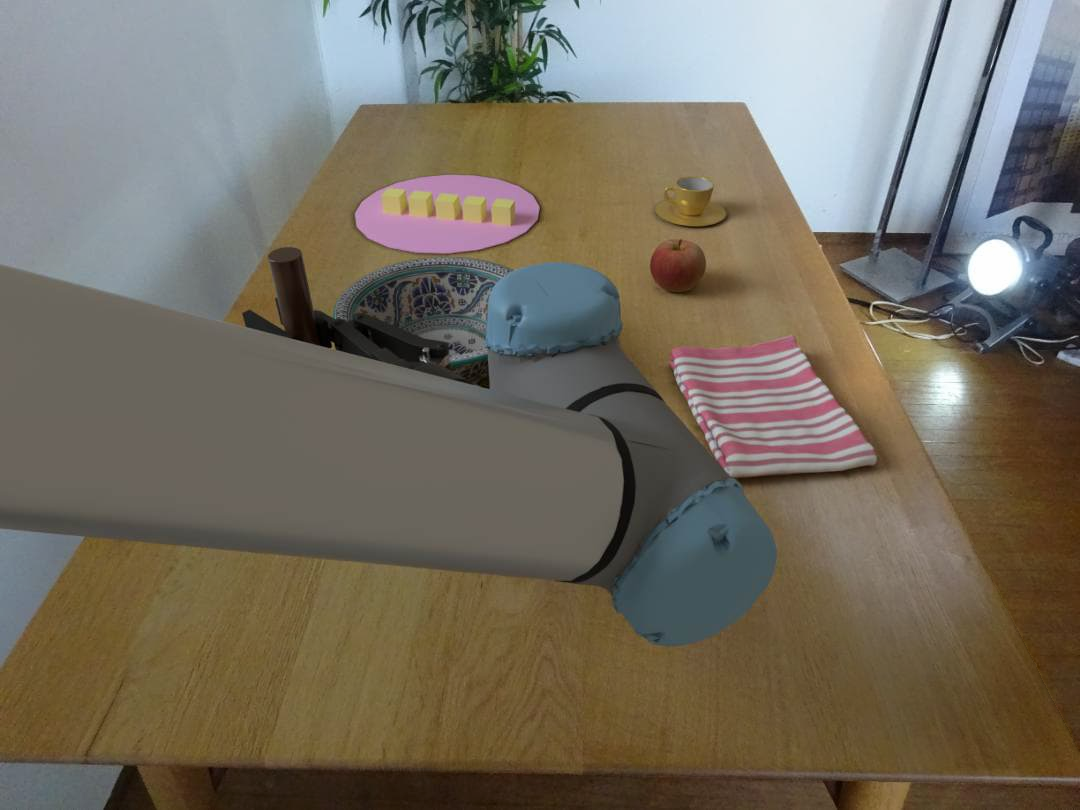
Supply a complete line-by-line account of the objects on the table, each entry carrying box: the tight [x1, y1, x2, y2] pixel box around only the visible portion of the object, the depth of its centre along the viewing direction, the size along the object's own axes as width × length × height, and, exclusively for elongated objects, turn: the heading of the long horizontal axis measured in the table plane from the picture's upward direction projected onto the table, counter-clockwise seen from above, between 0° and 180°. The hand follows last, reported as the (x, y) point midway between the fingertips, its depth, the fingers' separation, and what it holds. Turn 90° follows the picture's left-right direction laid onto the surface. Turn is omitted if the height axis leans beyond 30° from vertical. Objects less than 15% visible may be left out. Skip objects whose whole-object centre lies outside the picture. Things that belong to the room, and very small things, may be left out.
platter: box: [354, 174, 541, 255], centre depth 139 cm, size 32×32×3 cm
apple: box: [649, 238, 707, 293], centre depth 117 cm, size 8×8×8 cm
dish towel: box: [668, 334, 878, 479], centre depth 94 cm, size 17×23×4 cm
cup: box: [655, 175, 727, 227], centre depth 138 cm, size 12×12×5 cm
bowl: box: [332, 256, 515, 385], centre depth 100 cm, size 25×25×10 cm
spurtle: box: [267, 246, 321, 346], centre depth 69 cm, size 5×5×18 cm
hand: (265, 317), depth 71 cm, fingers closed on spurtle, 3 cm apart
